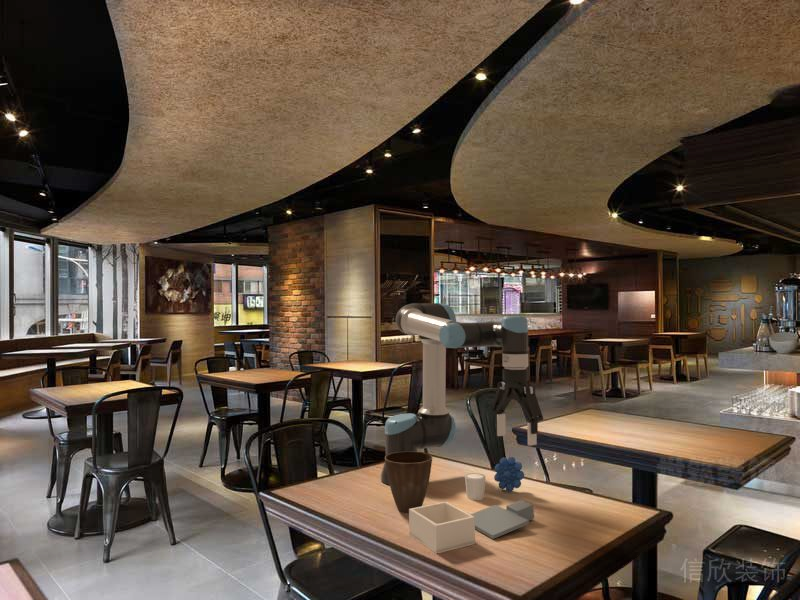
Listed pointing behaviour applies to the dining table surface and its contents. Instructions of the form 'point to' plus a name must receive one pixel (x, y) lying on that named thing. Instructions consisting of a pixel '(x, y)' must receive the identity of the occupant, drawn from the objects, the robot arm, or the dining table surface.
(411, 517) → the tub
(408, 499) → the plant pot
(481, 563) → the dining table surface
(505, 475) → the grapes
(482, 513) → the lid
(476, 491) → the beige cup
